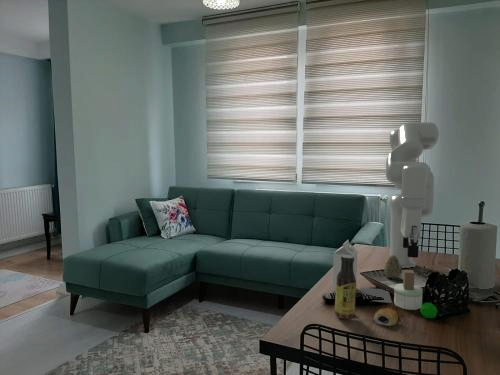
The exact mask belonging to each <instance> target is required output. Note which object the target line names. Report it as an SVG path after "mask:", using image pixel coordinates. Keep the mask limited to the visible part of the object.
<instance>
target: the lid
mask: <svg viewBox="0 0 500 375" xmlns="http://www.w3.org/2000/svg"><path fill="white" fill-rule="evenodd" d="M402 277H403V279H402V280H403V281H402V283H397V284H395V285H394V288H393V289H394V291H395V292H396V293H397V294H399V295H402V296H407V297H419V296H421V295H422V296H423V291H424V290H423V288H422V287H420V286H419V285H416V284H415V277H416V276H415V271H414V270H413V269H403V276H402Z"/></svg>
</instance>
